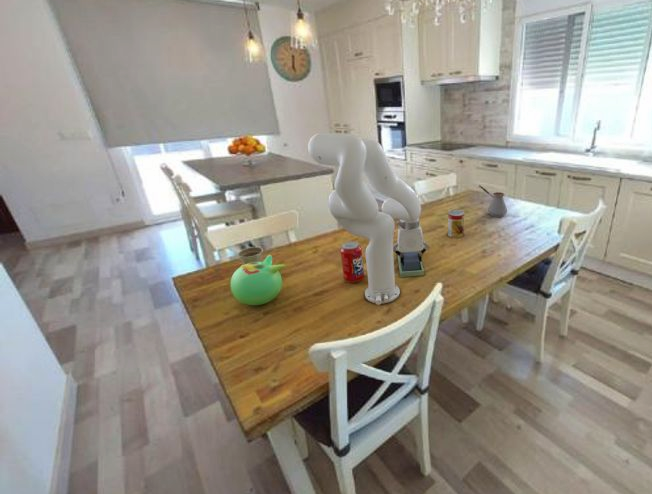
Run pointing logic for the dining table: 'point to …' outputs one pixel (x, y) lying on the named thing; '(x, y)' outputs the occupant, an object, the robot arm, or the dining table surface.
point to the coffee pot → (496, 204)
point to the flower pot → (251, 255)
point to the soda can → (352, 261)
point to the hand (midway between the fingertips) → (411, 263)
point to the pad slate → (411, 261)
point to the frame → (411, 272)
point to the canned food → (455, 223)
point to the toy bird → (257, 282)
